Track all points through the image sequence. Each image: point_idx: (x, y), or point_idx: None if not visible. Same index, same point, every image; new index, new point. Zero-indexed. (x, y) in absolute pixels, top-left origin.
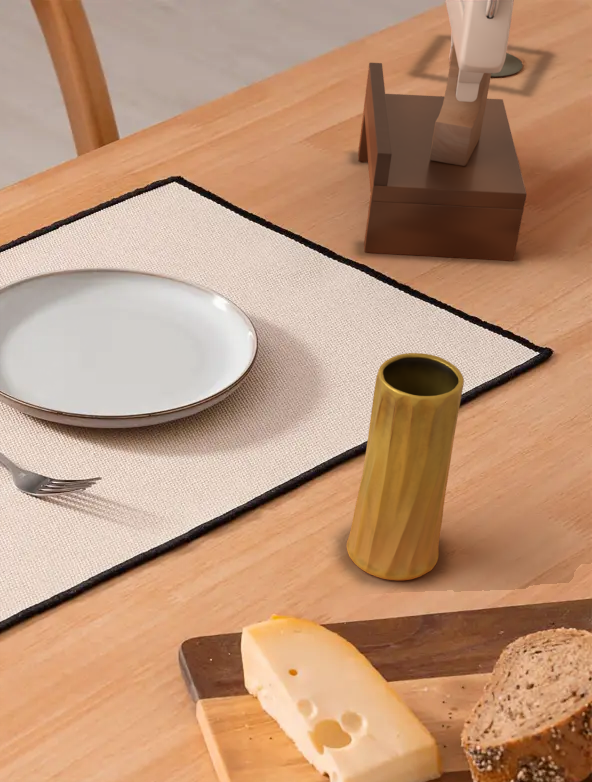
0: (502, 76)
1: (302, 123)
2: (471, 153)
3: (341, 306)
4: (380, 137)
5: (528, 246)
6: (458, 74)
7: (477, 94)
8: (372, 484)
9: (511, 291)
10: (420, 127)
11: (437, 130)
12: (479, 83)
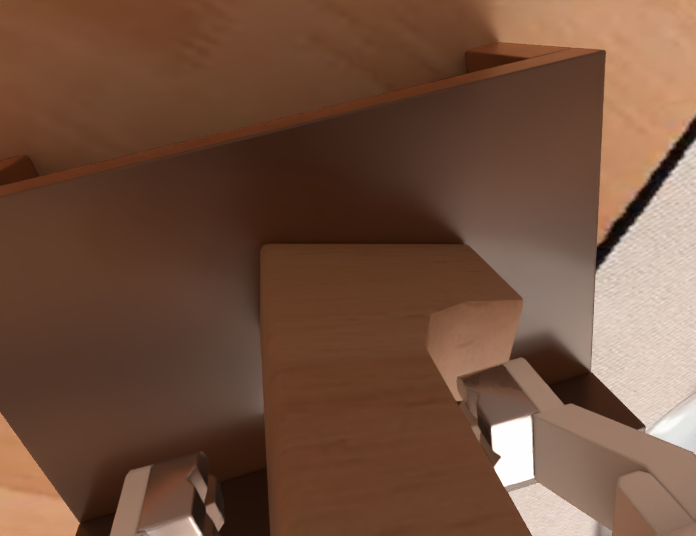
0: None
1: (38, 530)
2: (406, 245)
3: (675, 298)
4: None
5: (423, 12)
6: (562, 495)
7: (531, 368)
8: None
9: (621, 32)
10: (254, 391)
11: None
12: (558, 400)
